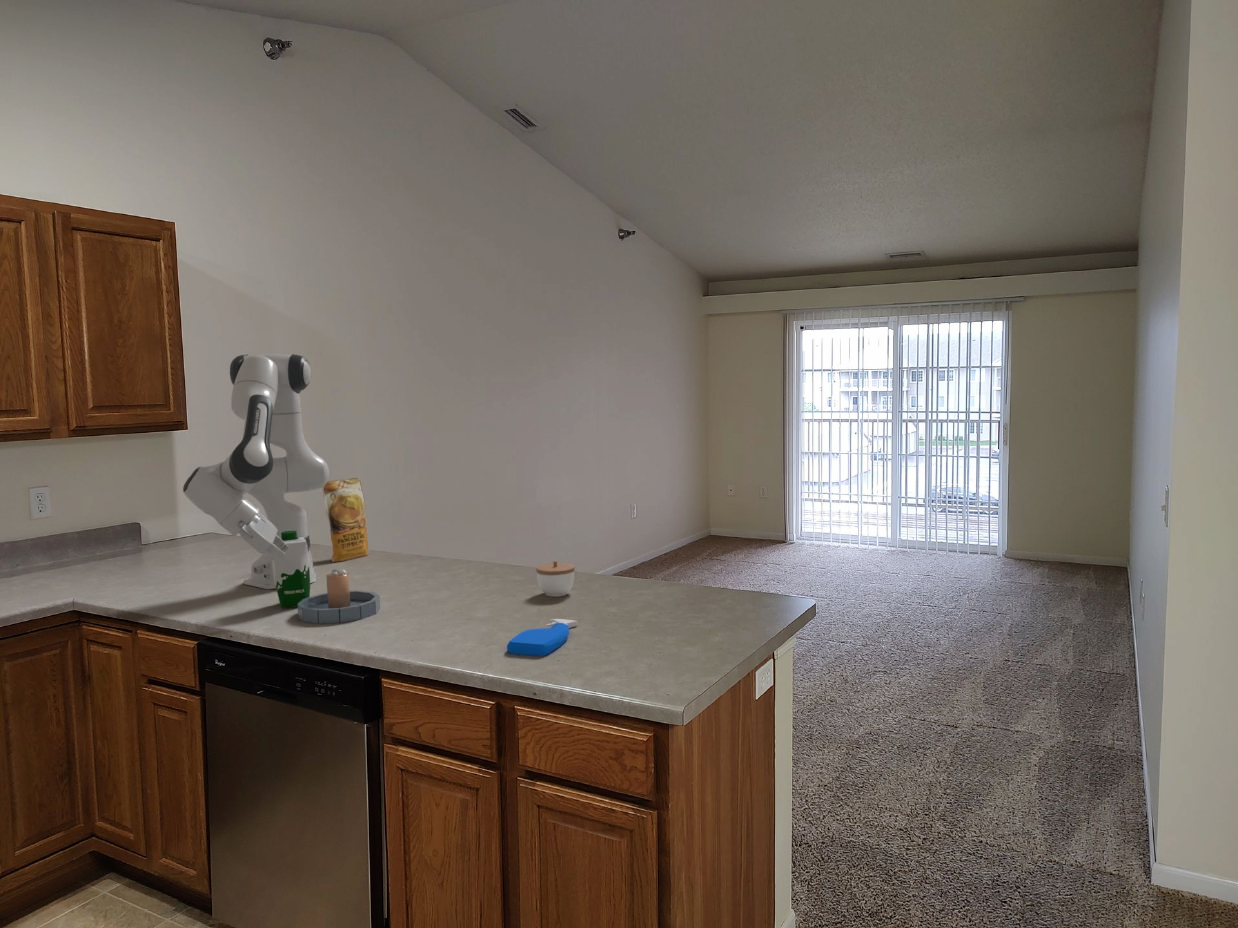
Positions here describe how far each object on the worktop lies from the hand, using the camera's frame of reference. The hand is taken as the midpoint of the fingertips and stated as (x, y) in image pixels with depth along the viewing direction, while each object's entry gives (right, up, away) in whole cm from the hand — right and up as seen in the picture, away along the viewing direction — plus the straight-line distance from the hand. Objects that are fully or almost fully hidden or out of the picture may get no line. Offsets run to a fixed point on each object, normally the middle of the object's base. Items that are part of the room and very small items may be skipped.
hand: (285, 553), depth 217 cm
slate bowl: (+12, -16, +5) cm, 21 cm away
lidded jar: (+69, -14, +19) cm, 73 cm away
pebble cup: (+12, -15, +5) cm, 20 cm away
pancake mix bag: (-9, -10, +79) cm, 81 cm away
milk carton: (-4, -16, +15) cm, 22 cm away
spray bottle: (+70, -18, -23) cm, 76 cm away
